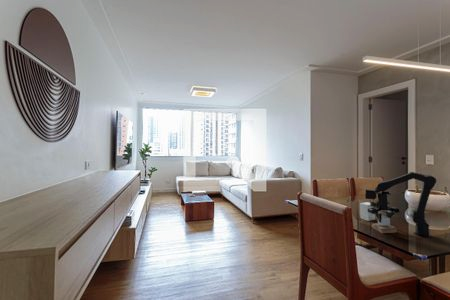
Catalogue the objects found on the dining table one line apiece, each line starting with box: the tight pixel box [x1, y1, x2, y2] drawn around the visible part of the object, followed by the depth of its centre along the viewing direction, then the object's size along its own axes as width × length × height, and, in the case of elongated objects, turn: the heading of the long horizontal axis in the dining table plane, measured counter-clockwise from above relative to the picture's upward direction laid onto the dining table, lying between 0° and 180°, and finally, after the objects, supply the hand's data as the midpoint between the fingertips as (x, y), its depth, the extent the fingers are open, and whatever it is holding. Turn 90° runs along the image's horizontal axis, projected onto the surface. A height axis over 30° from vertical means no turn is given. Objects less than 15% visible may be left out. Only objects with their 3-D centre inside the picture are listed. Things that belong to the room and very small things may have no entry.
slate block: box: [377, 215, 391, 226], centre depth 156 cm, size 5×5×5 cm
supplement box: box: [359, 201, 376, 222], centre depth 179 cm, size 7×7×13 cm
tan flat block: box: [371, 222, 398, 234], centre depth 156 cm, size 10×10×3 cm
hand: (383, 222), depth 156 cm, fingers closed on slate block, 5 cm apart
